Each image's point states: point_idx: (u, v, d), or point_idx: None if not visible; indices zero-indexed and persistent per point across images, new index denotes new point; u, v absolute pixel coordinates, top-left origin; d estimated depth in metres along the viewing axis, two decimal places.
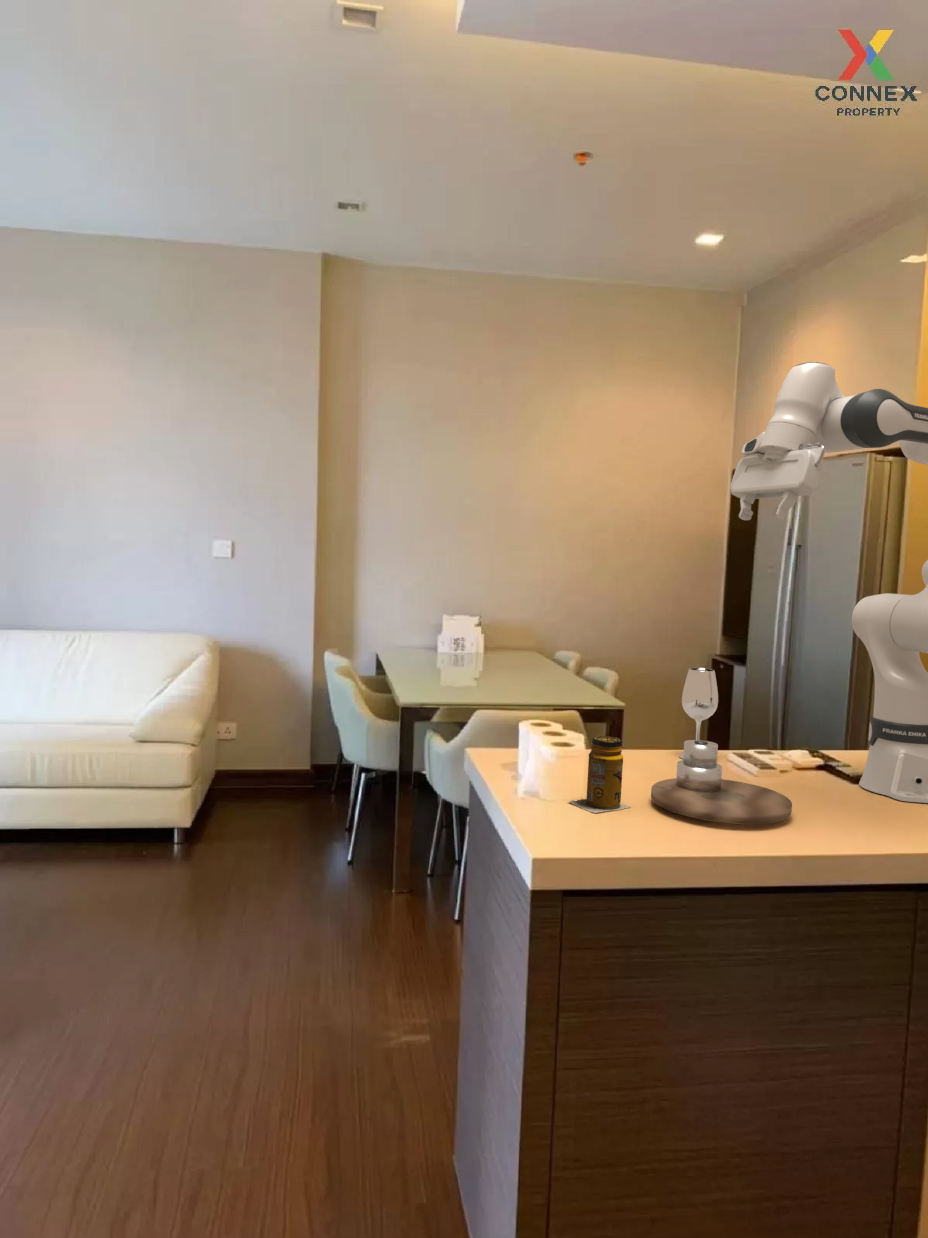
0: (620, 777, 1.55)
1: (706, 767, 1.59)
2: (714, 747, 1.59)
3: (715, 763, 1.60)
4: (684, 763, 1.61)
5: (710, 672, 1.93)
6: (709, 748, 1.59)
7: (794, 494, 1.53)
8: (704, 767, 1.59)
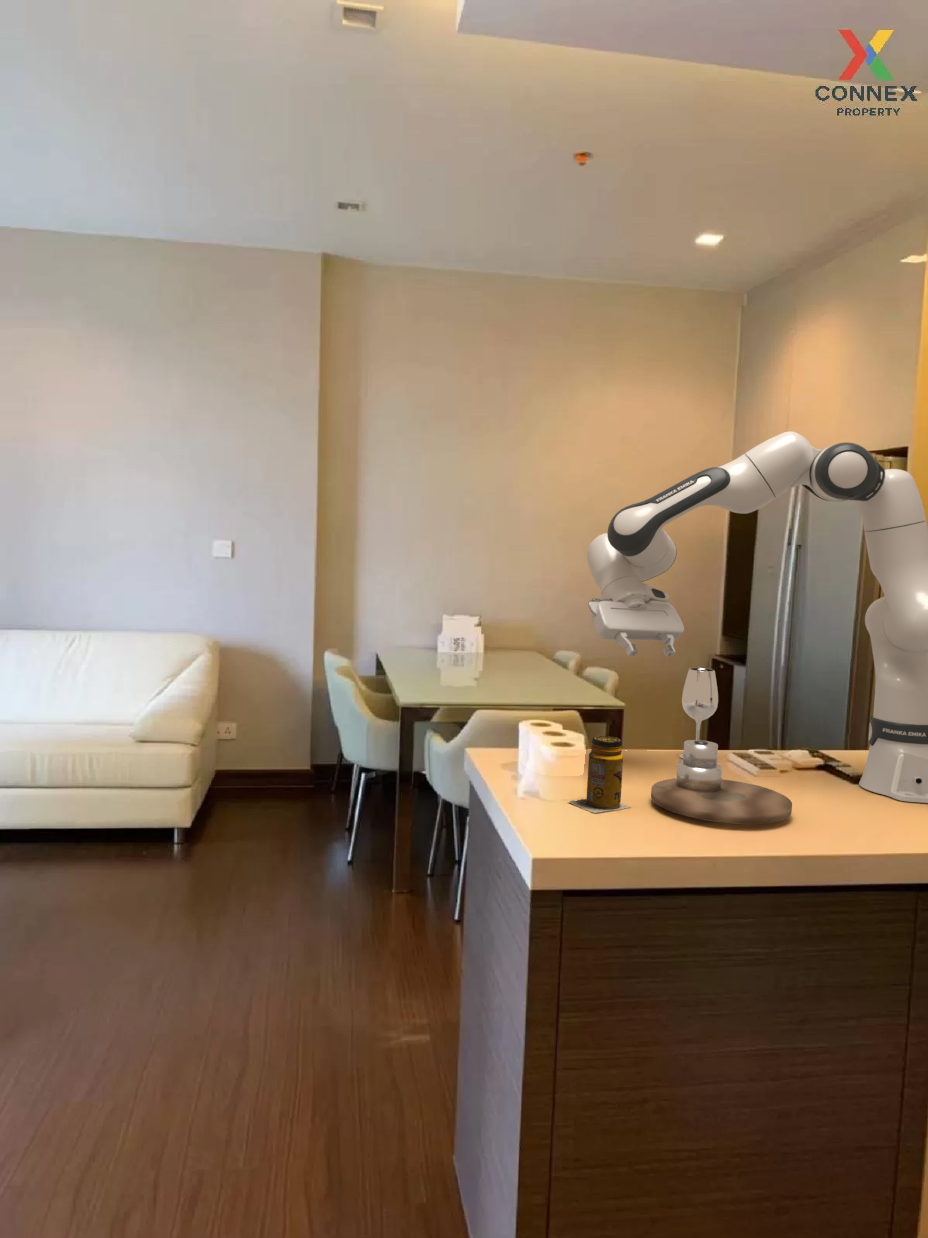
0: (620, 777, 1.55)
1: (706, 767, 1.59)
2: (714, 747, 1.59)
3: (715, 763, 1.60)
4: (684, 763, 1.61)
5: (710, 672, 1.93)
6: (709, 748, 1.59)
7: (618, 635, 1.74)
8: (704, 767, 1.59)
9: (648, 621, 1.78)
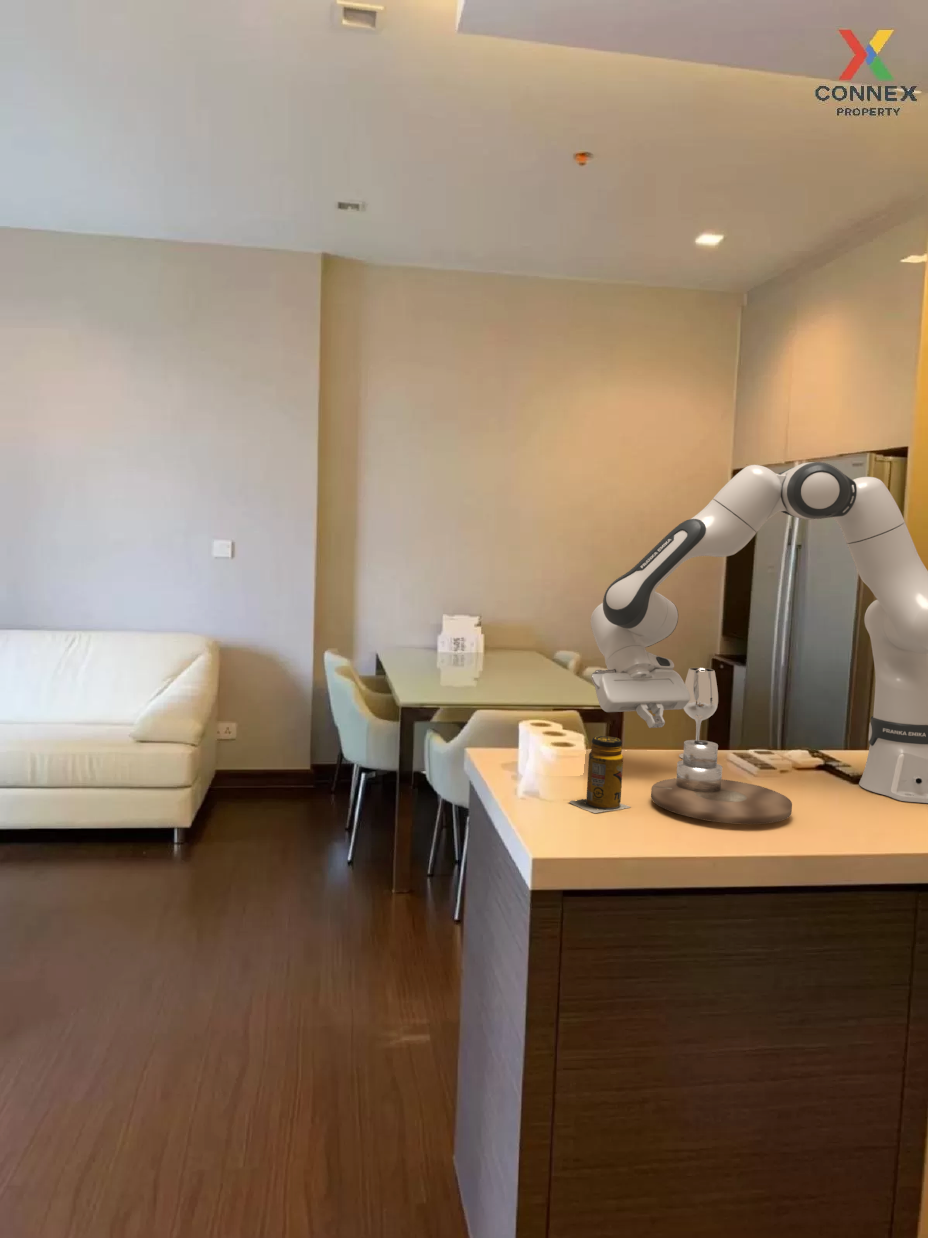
0: (620, 777, 1.55)
1: (706, 767, 1.59)
2: (714, 747, 1.59)
3: (715, 763, 1.60)
4: (684, 763, 1.61)
5: (710, 672, 1.93)
6: (709, 748, 1.59)
7: (638, 707, 1.75)
8: (704, 767, 1.59)
9: (653, 691, 1.77)
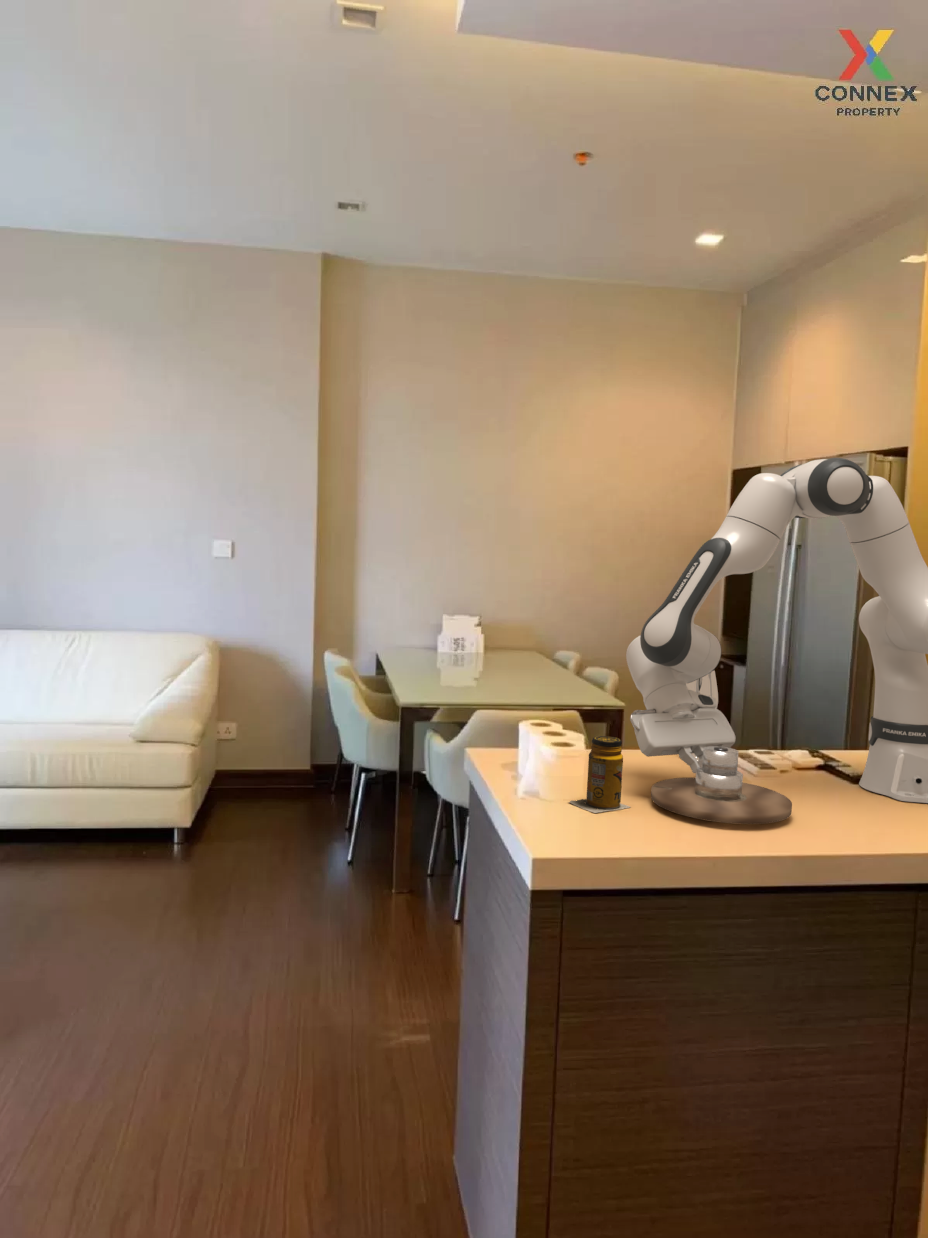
0: (620, 777, 1.55)
1: (727, 774, 1.54)
2: (735, 754, 1.54)
3: (736, 770, 1.55)
4: (703, 770, 1.56)
5: None
6: (730, 755, 1.54)
7: (681, 750, 1.63)
8: (724, 774, 1.54)
9: (697, 733, 1.64)
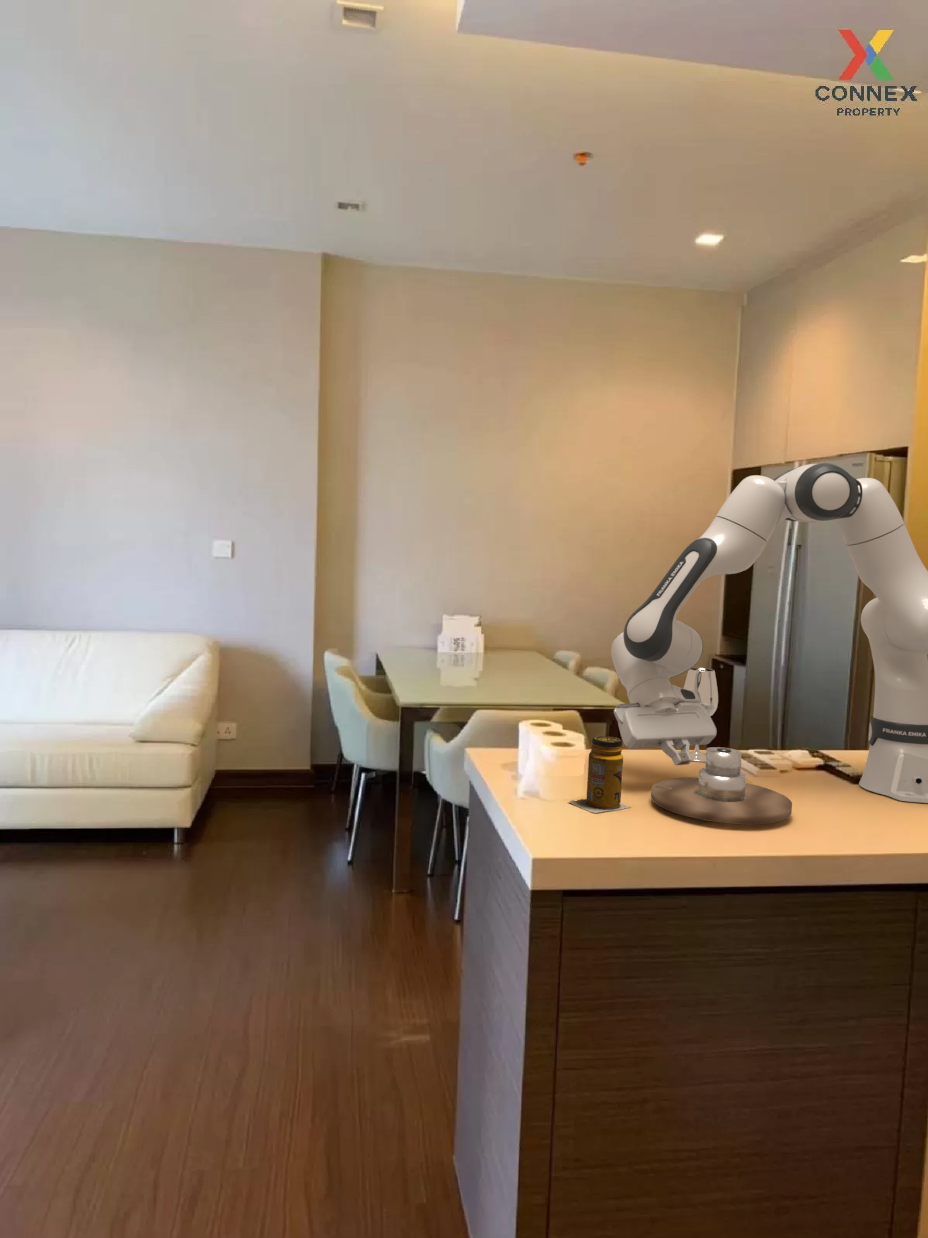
0: (620, 777, 1.55)
1: (730, 776, 1.53)
2: (738, 755, 1.54)
3: (739, 771, 1.54)
4: (706, 771, 1.55)
5: (710, 672, 1.93)
6: (733, 756, 1.53)
7: (664, 743, 1.67)
8: (728, 776, 1.53)
9: (678, 726, 1.69)
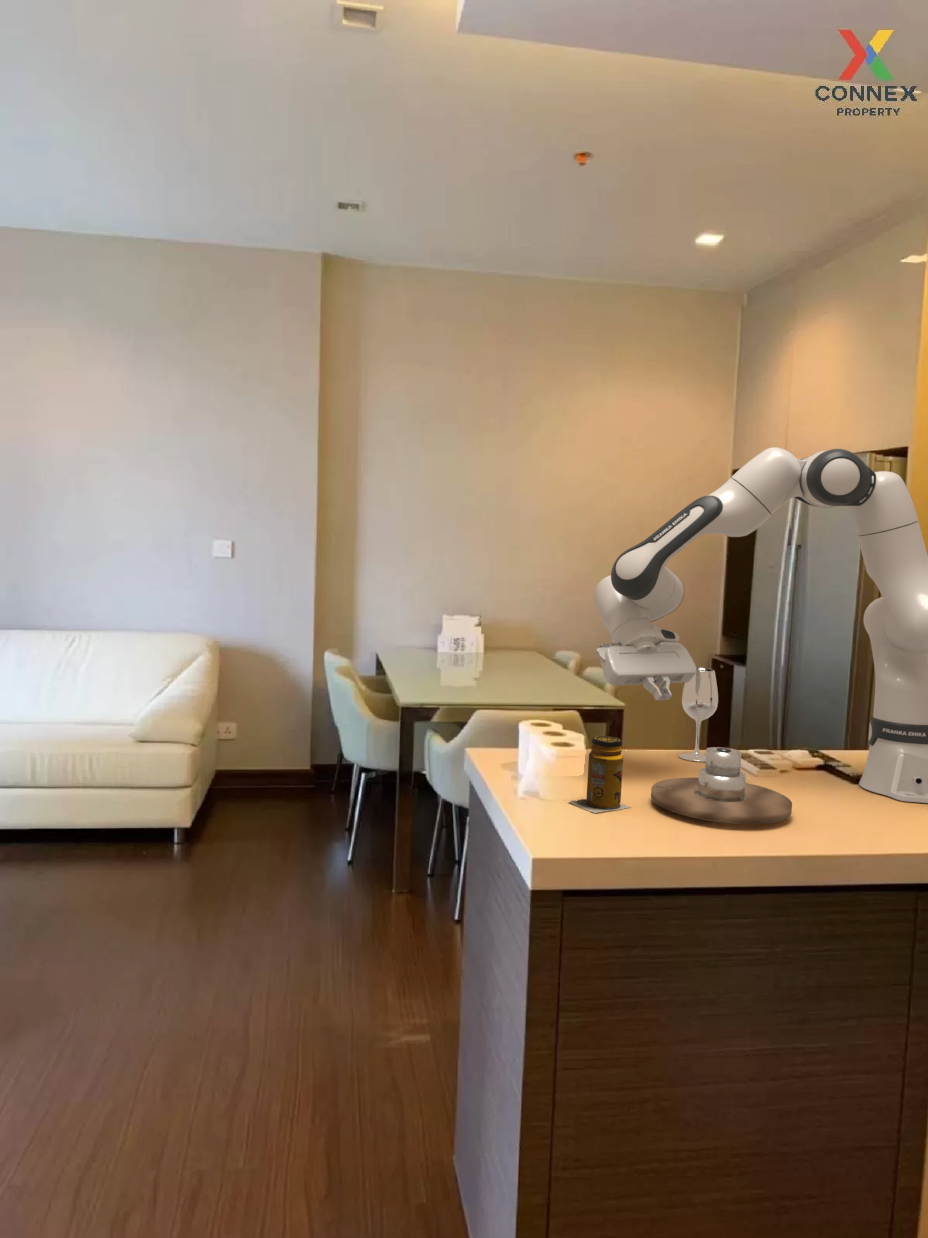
0: (620, 777, 1.55)
1: (730, 775, 1.53)
2: (738, 755, 1.54)
3: (739, 771, 1.54)
4: (706, 771, 1.56)
5: (710, 672, 1.93)
6: (733, 756, 1.53)
7: (645, 680, 1.73)
8: (728, 775, 1.53)
9: (659, 664, 1.75)
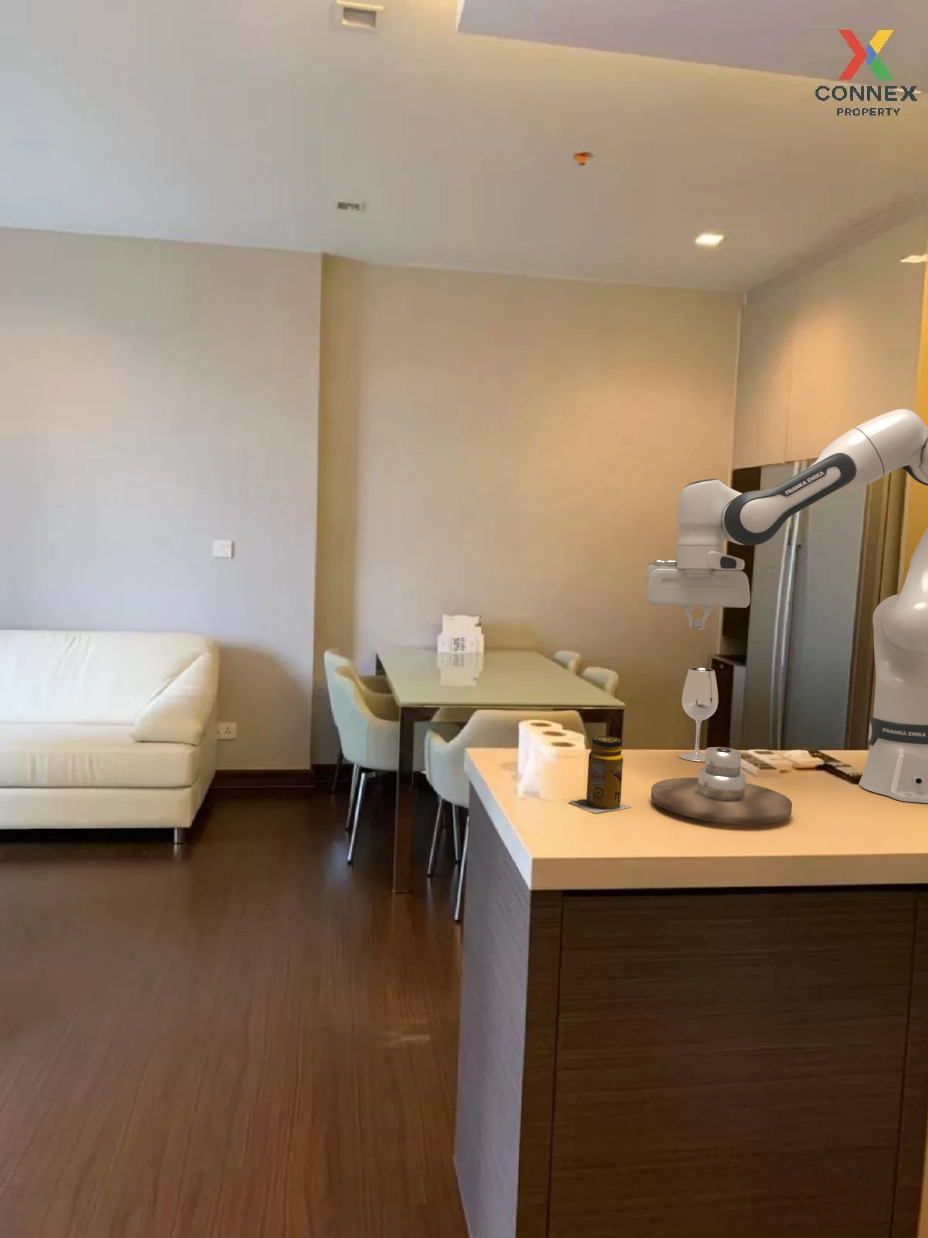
0: (620, 777, 1.55)
1: (729, 775, 1.53)
2: (738, 755, 1.54)
3: (738, 771, 1.54)
4: (706, 771, 1.56)
5: (710, 672, 1.93)
6: (733, 756, 1.53)
7: None
8: (727, 775, 1.53)
9: (703, 595, 1.76)
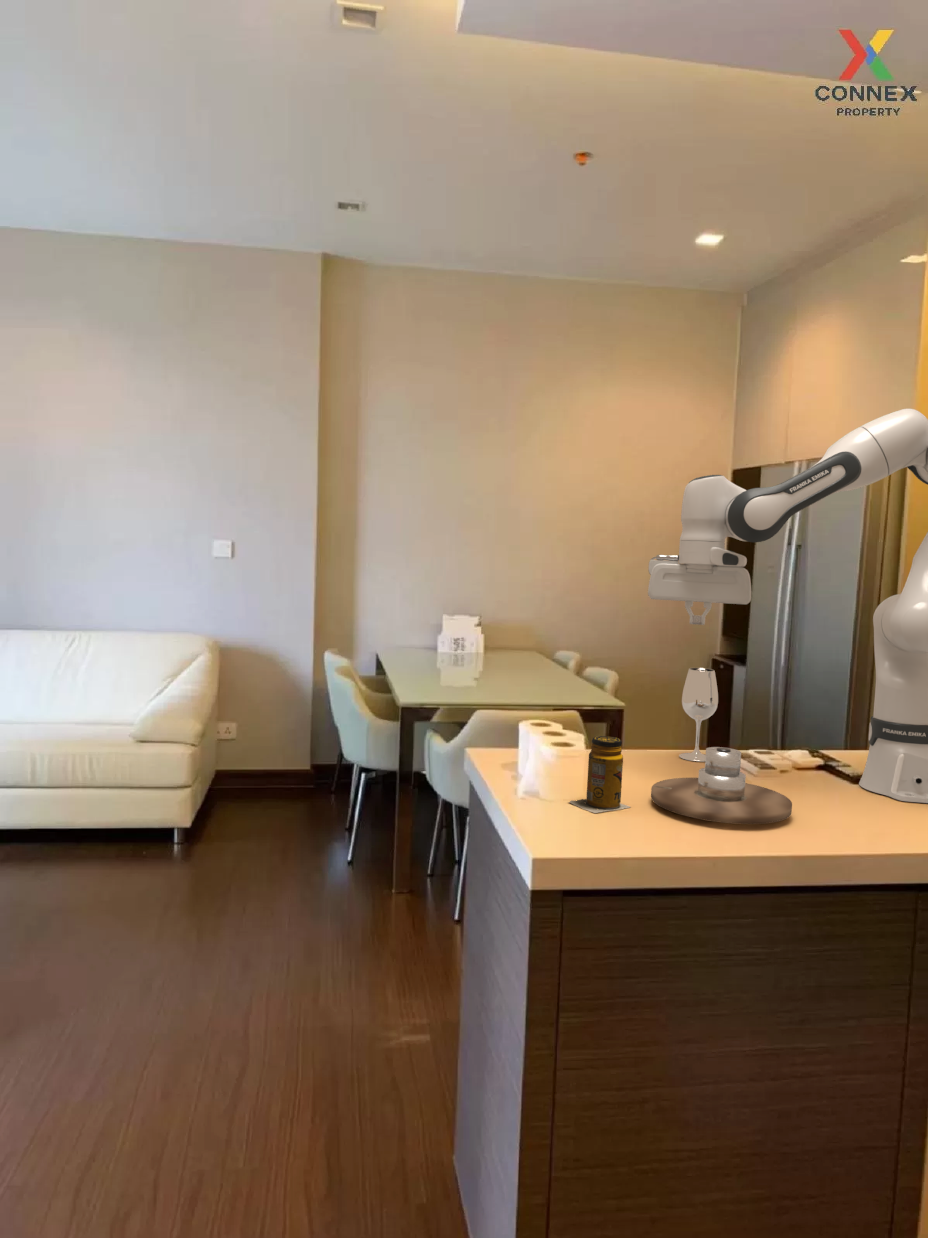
0: (620, 777, 1.55)
1: (729, 775, 1.53)
2: (737, 755, 1.54)
3: (738, 771, 1.54)
4: (706, 771, 1.56)
5: (710, 672, 1.93)
6: (732, 756, 1.53)
7: None
8: (727, 775, 1.53)
9: (704, 590, 1.76)
